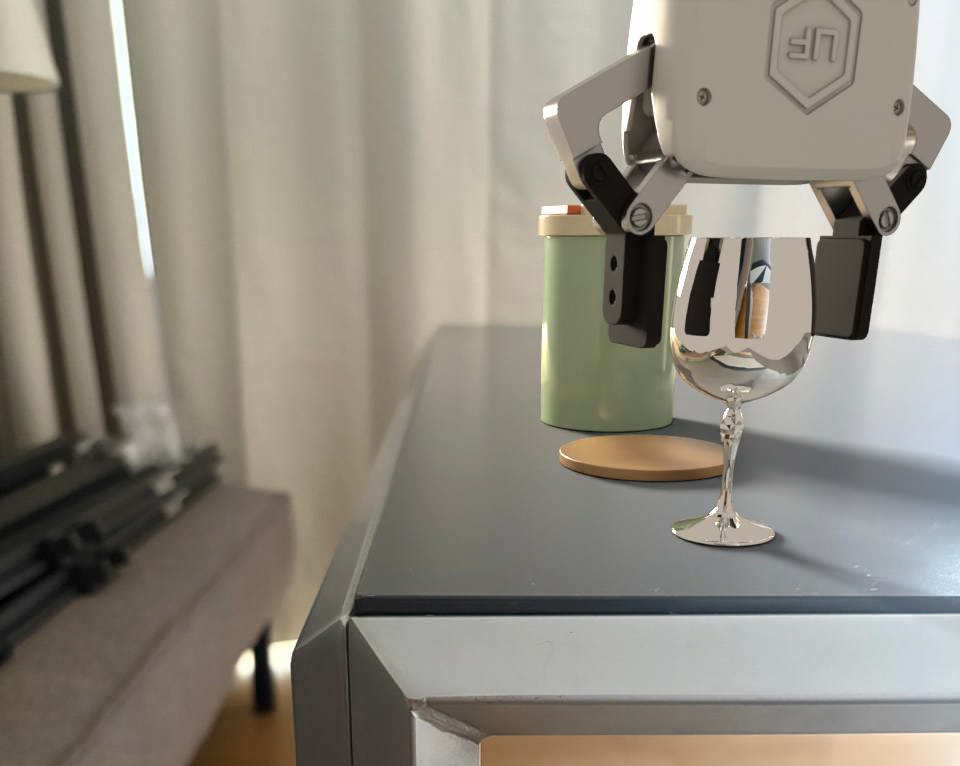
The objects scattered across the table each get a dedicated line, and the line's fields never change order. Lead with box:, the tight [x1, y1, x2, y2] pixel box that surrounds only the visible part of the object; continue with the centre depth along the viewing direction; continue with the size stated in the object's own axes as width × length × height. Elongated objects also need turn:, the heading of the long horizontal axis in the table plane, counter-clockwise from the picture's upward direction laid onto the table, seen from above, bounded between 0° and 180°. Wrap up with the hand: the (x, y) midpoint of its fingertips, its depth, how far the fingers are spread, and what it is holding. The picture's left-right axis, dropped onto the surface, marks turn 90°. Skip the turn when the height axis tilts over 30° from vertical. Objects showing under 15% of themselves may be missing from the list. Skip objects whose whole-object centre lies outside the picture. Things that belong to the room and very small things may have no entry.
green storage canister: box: [537, 203, 694, 433], centre depth 67 cm, size 10×10×14 cm
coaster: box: [558, 434, 737, 482], centre depth 57 cm, size 10×10×1 cm
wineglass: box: [669, 236, 817, 547], centre depth 41 cm, size 6×6×12 cm
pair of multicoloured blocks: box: [541, 204, 581, 215], centre depth 64 cm, size 4×4×2 cm
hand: (738, 340), depth 41 cm, fingers open, 9 cm apart
